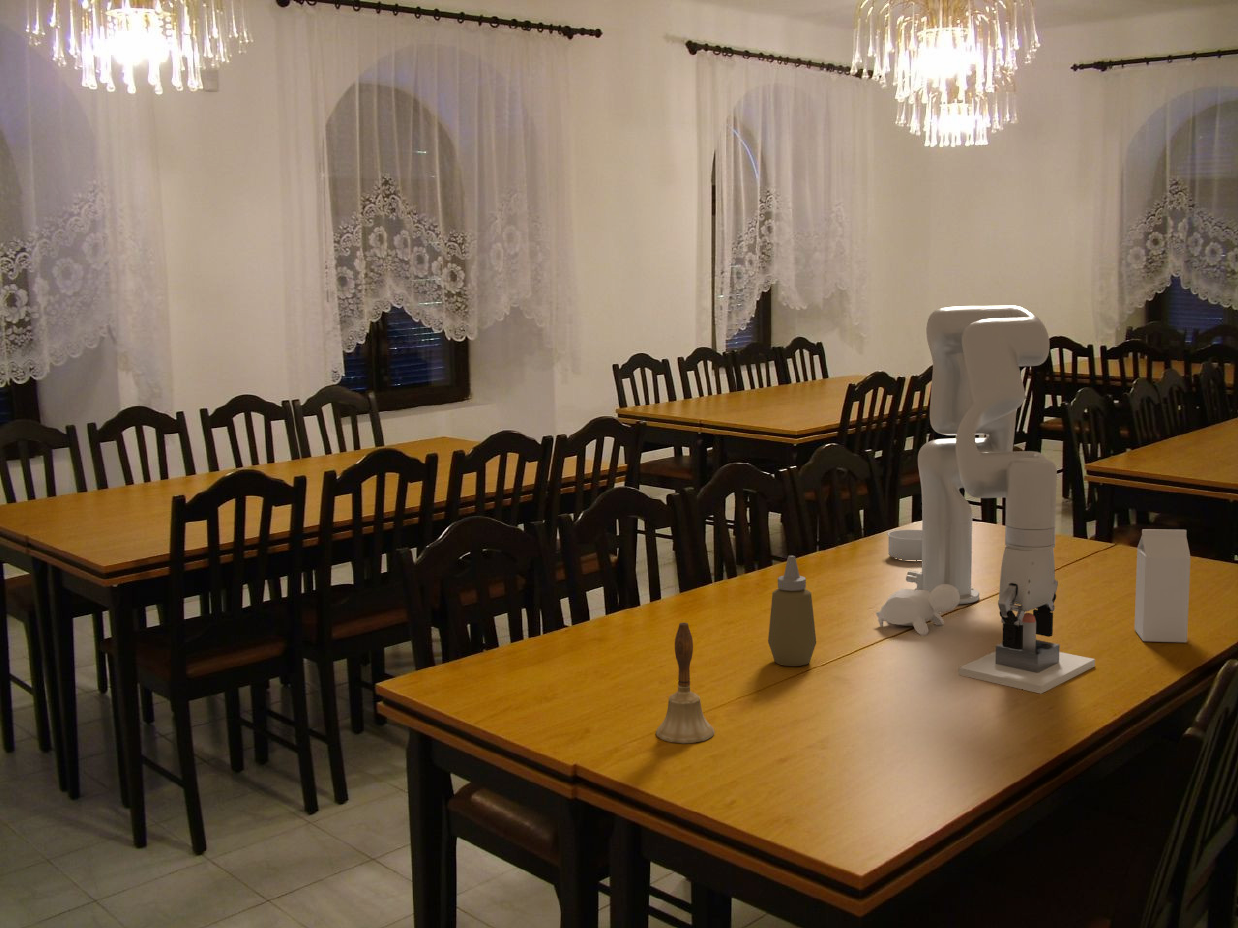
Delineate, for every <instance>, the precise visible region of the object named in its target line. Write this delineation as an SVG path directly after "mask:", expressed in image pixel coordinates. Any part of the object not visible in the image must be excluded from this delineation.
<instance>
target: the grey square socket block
mask: <svg viewBox="0 0 1238 928" xmlns="http://www.w3.org/2000/svg"><path fill="white" fill-rule="evenodd" d="M1002 643H1003V642H1001V643H998V644H996V645H995V651H996V661H995V664H998V665H1003V666H1008V667H1012V668H1017V669H1021V670H1026V671H1030V672H1035V673H1039V672H1041V671H1043V670H1045V669H1047V668H1049V667H1051V666H1053V665H1055V664H1057V663H1059V652H1060V643H1054V642H1048V641H1045V640H1041V639H1040V640H1039V639H1036V650H1035V651H1030V650H1026V649H1022V650H1015V649H1010V648H1006V647H1003V645H1002Z"/></svg>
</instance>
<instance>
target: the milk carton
mask: <svg viewBox="0 0 1238 928" xmlns="http://www.w3.org/2000/svg"><path fill="white" fill-rule="evenodd" d="M1136 548H1137V549H1136V573H1135V575H1136V576H1135V579H1136V580H1135V602H1134V603H1135V605H1134V606H1135V609H1134V631H1135V632H1136V633H1137V635H1138V636H1139V638H1140V639H1141V640H1142V641H1143V642H1158V643H1159V642H1161V643H1188V625H1189V624H1188V621H1189V604H1190V603H1189V601H1190V579H1191V577H1190V575H1191V574H1190V573H1191V554H1190V553H1191V552H1190V548H1189V543H1188V539H1187V529H1159V528H1158V529H1155V528H1154V529H1150V528H1149V529H1147V528H1146V529H1142V530H1141V537H1140V540H1139V543H1138V545H1137V547H1136Z"/></svg>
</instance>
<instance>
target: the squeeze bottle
mask: <svg viewBox="0 0 1238 928" xmlns="http://www.w3.org/2000/svg"><path fill="white" fill-rule="evenodd" d="M798 567H799V566H798V563H797V559H796V556H795V555H788V556H787V559H786V563H785V569H784V573H783V575H781V576H779V577H777V588H776V589H775V590H773V591H772V596H771V604H770V615H769V617H770V618H769V627H768V639H767V643H768V646H769V649H770V652H771V655H772V658H773V660H774V662H775V663H776V664H777V665H781V666H787V667H800V666H801V667H802V666H806V665H808V664H809V663H811V660H812V656H813V654H814V651H815V647H816V644H817V635H816V626H815V618H814V617H815V615H814V607H813V597H812V592H811V591H810V590H808V589H807V587H806V585H807V582H806V581H807V579H806V577H805V576H803V575H800V573H799V568H798Z"/></svg>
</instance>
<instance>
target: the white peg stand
mask: <svg viewBox="0 0 1238 928" xmlns="http://www.w3.org/2000/svg"><path fill="white" fill-rule="evenodd" d="M1035 620H1036V619H1035V616H1034V615H1033V613H1030V612H1025V614H1024V616H1023V619H1022V622H1021V624H1020V625H1023V649H1026V650H1030V651H1035V650H1036V640H1037V634H1036V621H1035ZM995 661H996V650H995V651H993V652H991V653H988V654H986V655H983V656H982V657H979V658H978V659H974V660H972V661H971V662H968V663H966V664H963V665H961V666H959V667H958V676H962V677H967V678H972V679H976V680H980V681H983V682H984V681H985V682H988V683H993V684H996V685H997V684H998V685H1001V686H1006V687H1010V688H1014V689H1018V690H1022V689H1023V691H1027V692H1032V693H1035V694H1036V693H1037V694H1040V695H1042V694H1044V693H1046V692H1047V691H1049V690H1051V689H1054V688H1055V687H1057V686H1059V685H1061V684H1063V683H1065V682H1067V681H1070V680H1071V679H1073V678H1075V677H1077V676H1079V675H1082V674H1083V673H1084V672H1086V671H1089V670H1090V669H1092V668H1094V667H1095V666H1096V659H1095V658H1092V657H1087V656H1080V655H1076V654H1071V653H1067V652H1062V651H1059V663H1057V664H1055V665H1053V666H1051V667H1049V668H1047V669H1045V670H1043V671H1041V672H1039V673H1035V672H1030V671H1026V670H1021V669H1017V668H1012V667H1008V666H1003V665H998V664H995Z"/></svg>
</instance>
